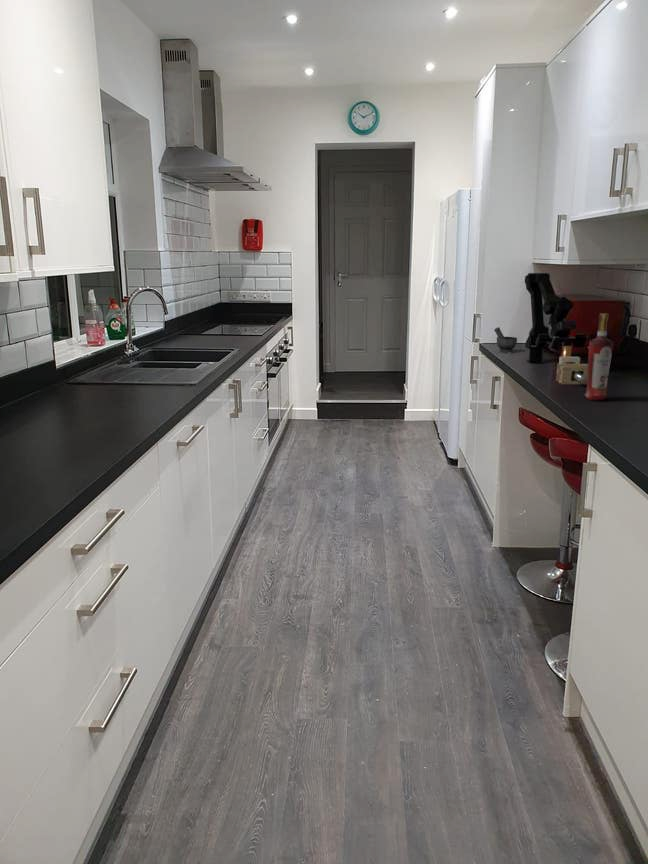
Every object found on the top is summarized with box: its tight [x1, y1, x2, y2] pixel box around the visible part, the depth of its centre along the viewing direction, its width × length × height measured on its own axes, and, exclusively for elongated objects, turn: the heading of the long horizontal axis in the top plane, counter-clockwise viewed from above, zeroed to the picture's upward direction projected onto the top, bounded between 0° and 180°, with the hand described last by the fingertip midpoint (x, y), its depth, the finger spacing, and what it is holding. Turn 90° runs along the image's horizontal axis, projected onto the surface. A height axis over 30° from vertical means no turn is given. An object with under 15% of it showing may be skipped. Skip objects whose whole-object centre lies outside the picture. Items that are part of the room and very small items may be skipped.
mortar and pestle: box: [494, 326, 518, 354], centre depth 322 cm, size 11×9×12 cm
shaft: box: [560, 345, 586, 383], centre depth 249 cm, size 23×6×12 cm, turn 177°
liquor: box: [584, 312, 614, 402], centre depth 217 cm, size 7×7×28 cm
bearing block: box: [555, 363, 588, 385], centre depth 248 cm, size 7×11×6 cm, turn 87°
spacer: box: [558, 356, 581, 378], centre depth 255 cm, size 3×7×8 cm, turn 87°
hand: (564, 357), depth 260 cm, fingers closed
